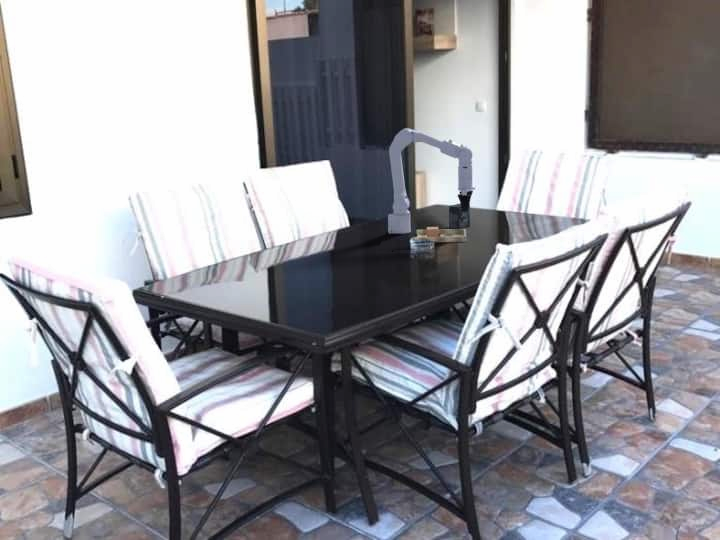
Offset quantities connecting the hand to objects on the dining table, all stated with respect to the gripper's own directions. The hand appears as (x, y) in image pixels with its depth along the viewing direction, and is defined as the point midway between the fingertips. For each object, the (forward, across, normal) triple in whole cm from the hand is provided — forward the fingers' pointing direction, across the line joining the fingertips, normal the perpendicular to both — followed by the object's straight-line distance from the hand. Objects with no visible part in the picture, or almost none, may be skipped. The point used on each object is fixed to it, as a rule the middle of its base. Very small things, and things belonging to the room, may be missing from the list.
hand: (465, 209), depth 304 cm
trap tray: (+10, -13, +9) cm, 19 cm away
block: (+9, -14, +12) cm, 20 cm away
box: (+10, +10, +3) cm, 14 cm away
